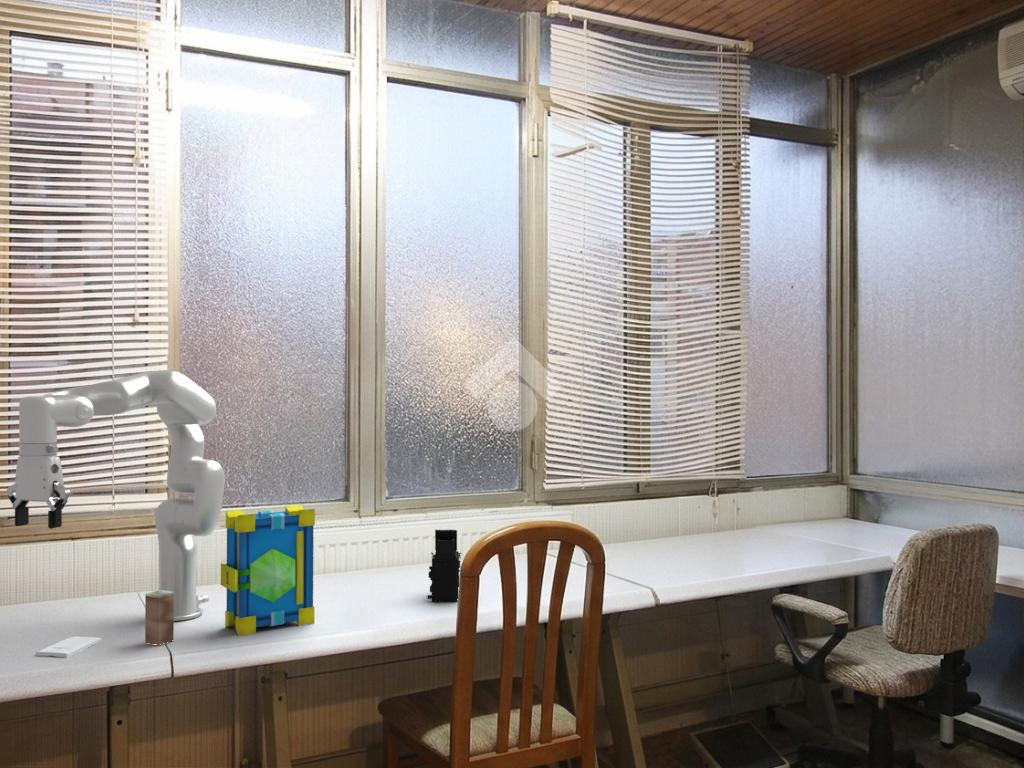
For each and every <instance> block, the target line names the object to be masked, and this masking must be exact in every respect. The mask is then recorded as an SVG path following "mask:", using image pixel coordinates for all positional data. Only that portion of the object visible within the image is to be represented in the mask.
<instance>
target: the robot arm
mask: <svg viewBox="0 0 1024 768" xmlns="http://www.w3.org/2000/svg"><path fill="white" fill-rule="evenodd" d="M18 404H19V406H18V407H19V408H18V418H19V419H18V420H19V421H18V427H19V428H18V430H19V432H18V433H19V435H18V439H19V441H18V442H19V444H18V445H19V446H18V447H19V448H18V451H19V452H18V456H19V457H17V461H16V462H17V463H16V469H15V477H14V480H15V481H14V483H13V484H12V485H10V486H9V487H7V488H6V491H7V494H8V497H9V501H10V502H11V504H12V508H13V509H14V526H15V527H20V526H21V527H22V526H27V525H28V524H29V519H30V518H29V517H30V515H29V511H30V509H29V506H28V504H29V502H39V503H40V502H41V503H44V502H45V503H46V504H47V506H48V508H49V509H50V510H48V513H47V514H48V515H47V524H48V525H47V527H48V529H51V530H52V529H56V528H61V527H62V525H63V521H62V520H63V516H62V515H63V514H62V513H63V512H62V511H63V510H64V508H65V506H66V504H67V503H68V499H69V498H70V495H71V491H70V489H68V488H67V487H65V486H64V475H63V466H62V462H61V458H60V456H58V451H59V447H58V442H57V441H58V427H62V428H79V427H84V425H87V424H88V423H89V422H90V421H91V420H92V419H93V417H97V416H98V417H99V416H112V415H120V414H124V413H126V412H127V413H128V412H131V411H133V410H136V409H140V408H143V407H144V408H145V407H147V406H150V405H156V412H157V415H158V417H159V418H160V420H161V421H162V422H163V423H164V425H165V426H166V427H167V429H168V430H169V433H170V437H171V445H170V447H171V448H170V455H169V461H168V467H167V475H166V485H167V488H168V489H169V490H170V491H172V492H174V493H177V494H186V495H194V497H193V499H191V498H178V497H176V498H175V497H174V498H169V499H168V498H167V499H165V500H163V501H162V502H161V503H159V505H158V506H157V508H156V509H155V513H154V525H155V529H156V534H157V541H158V590H164V591H171V592H174V622H181V621H187V620H191V619H192V620H193V619H195V618H198V617H200V616H202V614H203V609H202V608H201V607H200V605H201V604H204V603H208V602H209V600H210V597H209V596H208V594H205V595H201V596H199V595H197V546H196V545H197V544H196V543H195V540H194V537H207V536H209V535H211V534H212V533H214V532H215V530H216V529H217V527H218V524H219V521H220V519H221V511H222V507H223V506H222V505H223V499H224V498H223V497H224V490H225V484H226V483H225V481H226V478H225V477H226V476H225V472H224V469H223V467H222V465H221V464H220V463H219V462H217V461H215V460H213V459H205V458H204V454H205V442H206V441H205V436H204V433H203V430H202V429H201V427H200V426H204V425H207V424H209V423H211V422H212V421H213V420H214V418H215V417H216V414H217V406H216V405H217V404H216V402H215V399H214V398H213V397H212V396H211V395H210V394H209V393H208V392H207V391H205V390H204V389H203V388H202V387H200V386H199V384H197V383H195V382H194V381H193V380H192V379H190V378H188V377H187V376H186V375H184V374H182V373H181V372H178V371H174V370H151V371H143V372H140V373H136V374H131V375H129V376H125V377H122V378H117V379H113V380H108V381H102V382H98V383H93V384H88V385H82V386H77V387H73V388H67V389H62V390H57V391H54V392H50V393H48V394H47V393H46V394H44V395H42V396H41V395H39V396H38V395H33V396H24V397H22V398H20V400H19V403H18Z"/></svg>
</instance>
